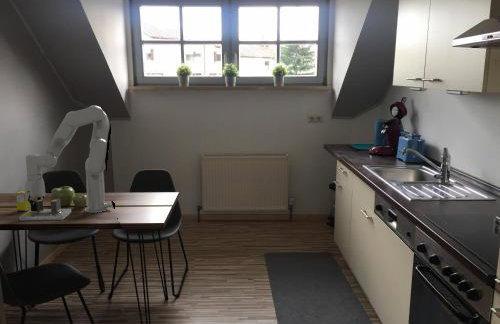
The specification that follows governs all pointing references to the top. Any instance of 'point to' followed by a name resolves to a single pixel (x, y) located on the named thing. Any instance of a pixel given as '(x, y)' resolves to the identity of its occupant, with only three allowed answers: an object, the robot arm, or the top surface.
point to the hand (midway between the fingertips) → (36, 209)
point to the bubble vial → (44, 213)
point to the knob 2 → (55, 206)
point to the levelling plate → (52, 216)
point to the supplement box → (22, 202)
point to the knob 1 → (38, 206)
